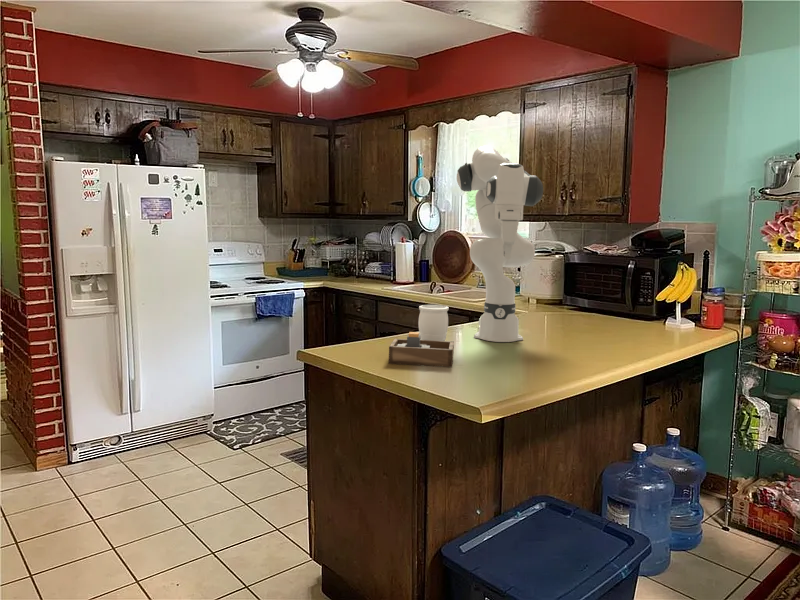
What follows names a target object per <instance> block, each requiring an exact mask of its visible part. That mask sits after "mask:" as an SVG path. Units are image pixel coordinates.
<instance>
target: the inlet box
mask: <svg viewBox="0 0 800 600" xmlns="http://www.w3.org/2000/svg"><path fill="white" fill-rule="evenodd" d="M454 351H455V341H447V340H445V341H433V340H420V348H419V347H407V338H394V339H393V341H392V342H391V343H390V345H389V346H388V364H391V365H404V366H405V365H407V366H421V365H424V367H439V366H443V368H452V367H453V363H452V362H454V353H455V352H454Z"/></svg>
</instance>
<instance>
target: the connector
mask: <svg viewBox="0 0 800 600" xmlns="http://www.w3.org/2000/svg"><path fill="white" fill-rule="evenodd" d="M406 339H407V347H419V348H420V340H421V335H420V334H419V331H417V332H416V331H409V333H408V335H407V336H406Z"/></svg>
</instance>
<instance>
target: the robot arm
mask: <svg viewBox="0 0 800 600" xmlns="http://www.w3.org/2000/svg"><path fill="white" fill-rule="evenodd" d="M524 169H525V168H524V166H523V165H522V164H520V163H513V162H512V161H510V159H508V158H507V157H503V156H502V155H501V154H500V153H499V152H498V150H496V149H495V148H494V147H491V146H488V145H483V146H480V147H478V148H476V149H475V150H474V152H473V154H472V159H471V162H465V163H464V164H463V165H461V166H460V167H459V168H458V169H457V173H456V182H457V183H456V184H457V185H458V187H459V188H460V190H461V191H462V192H472V191H477V192H476V194H475V208H476V209H475V210H476V215H477V218H478V223H479V226H480V229H481V232H482V233H483V235H485V236H486V237H485V238H481V239H476V240H475V241H473V242H472V244H471V246H470V248H469V257H470V260H471V262H472V263H473V264H474V265H475V266H477V268H478V269H479V270H480V271H481V273H482V275H483V279H484V281H485V301H484V303H483V304H484V305H483V311H484V313H483V314H481V316H480V318H479V319H478V331H477V332H475V334H473V338H475V339H481V340H484V341H489V342H496V343H510V342H512V343H513V342H516V341H517V342H518V341H523V340H524V337H523V336H522V335H521V334H519V329H520V328H519V325H520V323H519V322H520V320H519V318H518V316H517V315H516V309H517V307H516V303H515V297H516V284H515V282H514V280H513V279H511V278H510V277H508V276H507V275H505V274H504V268H520V267H523V266H524V267H525V266H529V265H530V264H531V263H532V262H533V261H534V258H535V254H536V253H535V251H536V249H535V246H534V245H533V243H532V242H531V241H530V240H528V239H526V238H525V237H523V236H522V235H520V233H518V230H519V229H518V228H519V222H520V221H523V220H524V206H527V207H534V206H535V205H537V204H538V203H539V202H540V201H541V200H542V197H544V196H543V194H544V186H543V182H542V180H541V179H540V178H539V177H538V176H537V175H531V174H530V173H528V172H527V171H526V170H524Z"/></svg>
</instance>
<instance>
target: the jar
mask: <svg viewBox="0 0 800 600" xmlns="http://www.w3.org/2000/svg"><path fill="white" fill-rule="evenodd" d="M418 309H419V315H418V322H417V323H418V332H419V335H421V340H433V341H446V339H447V333H448V331H449V329H448V328H449V315H448V311H449V306H447V305H441V304H422V305H419V307H418Z"/></svg>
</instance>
